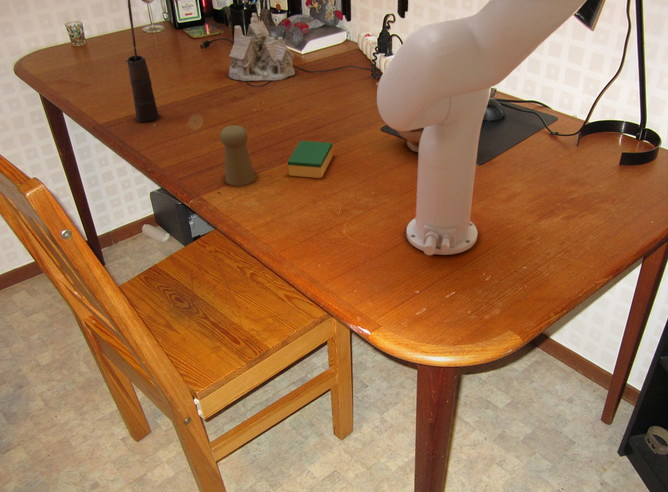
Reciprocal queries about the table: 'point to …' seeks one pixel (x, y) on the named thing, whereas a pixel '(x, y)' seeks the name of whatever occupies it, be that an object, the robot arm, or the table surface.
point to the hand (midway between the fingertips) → (374, 17)
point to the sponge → (310, 159)
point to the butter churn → (141, 83)
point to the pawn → (236, 156)
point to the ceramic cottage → (259, 55)
